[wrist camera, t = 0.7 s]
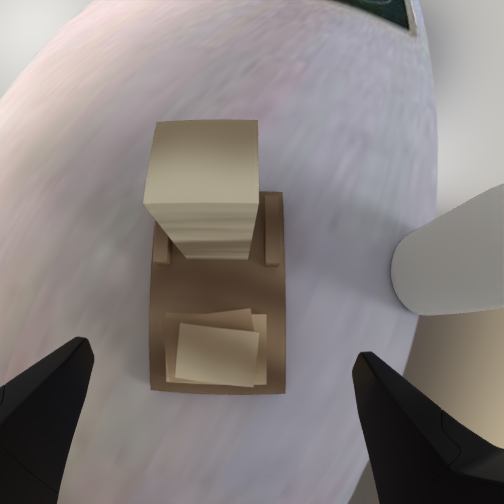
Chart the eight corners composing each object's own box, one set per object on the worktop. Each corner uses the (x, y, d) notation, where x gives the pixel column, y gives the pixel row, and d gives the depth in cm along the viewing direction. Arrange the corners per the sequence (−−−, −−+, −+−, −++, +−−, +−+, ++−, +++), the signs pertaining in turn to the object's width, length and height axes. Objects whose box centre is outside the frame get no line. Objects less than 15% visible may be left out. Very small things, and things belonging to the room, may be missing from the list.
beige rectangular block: (247, 259, 22) (258, 203, 11) (187, 259, 22) (142, 203, 11) (247, 208, 23) (257, 120, 12) (189, 208, 22) (156, 122, 12)
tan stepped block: (282, 389, 21) (292, 403, 17) (154, 386, 20) (139, 399, 16) (280, 197, 24) (288, 176, 20) (161, 197, 24) (149, 176, 20)
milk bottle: (414, 333, 22) (625, 320, 3) (372, 261, 24) (580, 147, 4) (461, 284, 24) (629, 231, 4) (424, 218, 25) (582, 111, 5)
